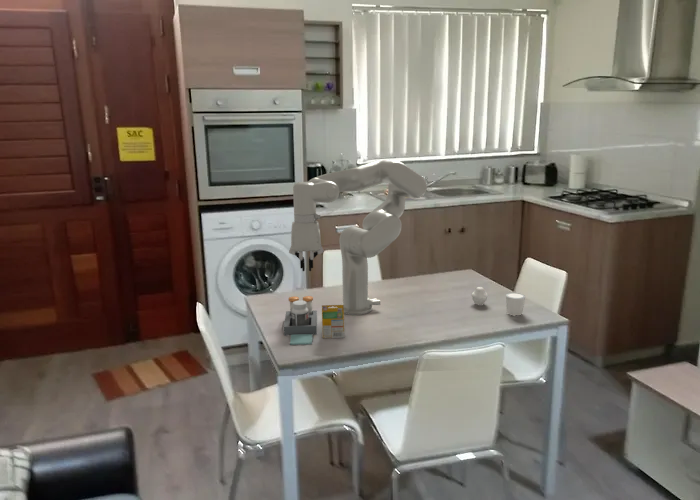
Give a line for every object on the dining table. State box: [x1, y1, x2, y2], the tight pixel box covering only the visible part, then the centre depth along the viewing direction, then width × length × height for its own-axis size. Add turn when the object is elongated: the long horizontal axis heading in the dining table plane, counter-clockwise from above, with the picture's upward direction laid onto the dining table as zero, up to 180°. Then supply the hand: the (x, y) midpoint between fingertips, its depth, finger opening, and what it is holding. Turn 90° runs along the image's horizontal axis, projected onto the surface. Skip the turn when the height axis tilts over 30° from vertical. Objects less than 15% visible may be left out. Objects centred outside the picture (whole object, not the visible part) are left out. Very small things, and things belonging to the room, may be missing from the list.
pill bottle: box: [292, 299, 309, 326], centre depth 192 cm, size 6×6×10 cm
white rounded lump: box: [471, 286, 489, 306], centre depth 215 cm, size 6×6×7 cm
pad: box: [289, 334, 313, 346], centre depth 184 cm, size 7×7×1 cm
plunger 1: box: [288, 296, 300, 315], centre depth 199 cm, size 4×4×7 cm
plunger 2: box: [302, 295, 314, 315], centre depth 199 cm, size 4×4×7 cm
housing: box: [283, 310, 318, 336], centre depth 195 cm, size 11×15×3 cm
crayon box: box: [321, 304, 345, 339], centre depth 185 cm, size 7×3×12 cm, turn 92°
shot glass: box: [505, 292, 526, 315], centre depth 205 cm, size 7×7×7 cm
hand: (306, 269), depth 196 cm, fingers closed
